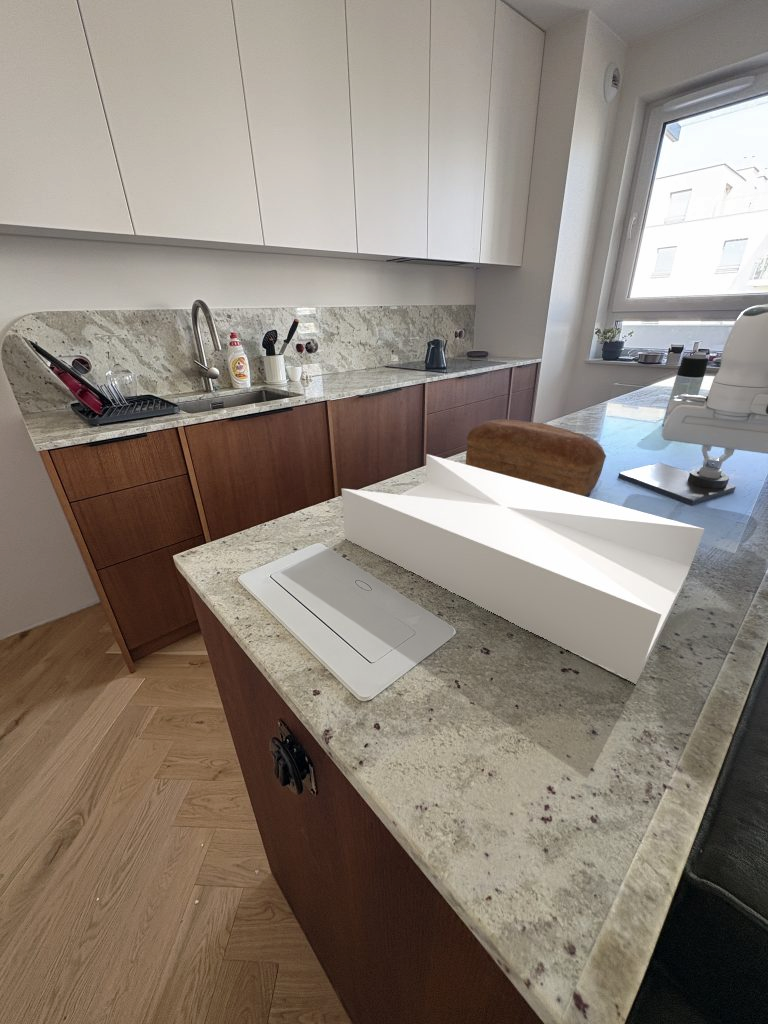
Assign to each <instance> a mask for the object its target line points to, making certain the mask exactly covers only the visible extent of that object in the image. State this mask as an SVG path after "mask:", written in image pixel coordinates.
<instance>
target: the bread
mask: <svg viewBox="0 0 768 1024" xmlns="http://www.w3.org/2000/svg"><path fill="white" fill-rule="evenodd" d="M466 443H467V445H466V450H465V451H466V453H465V464H466V465H469V466H473V467H477V468H481V469H484V470H488V471H492V472H495V473H499V474H503V475H507V476H510V477H514V478H518V479H522V480H525V481H529V482H533V483H536V484H540V485H544V486H548V487H551V488H555V489H559V490H562V491H566V492H570V493H574V494H577V495H581V496H585V497H586V495H588V494H590V493H591V492H592V491H593V490H594V489H595V488H596V485H597V484H598V481H599V479H600V477H601V475H602V471H603V468H604V464H605V460H606V459H607V455H606V452H605V450H604V448H603V446H601V444H600V443H599V442H598V441H597V440H595V439H593V438H591V437H590V436H588V435H585V434H583V433H581V432H579V433H578V432H575V431H572V430H569V429H567V428H562V427H558V426H554V425H551V424H548V423H543V422H532V421H525V420H516V419H507V418H501V419H494V420H486V421H484V422H481V423H479V424H477V425H475V426H474V427H473V428H472V429H470V431H469V432H468V434H467V436H466Z"/></svg>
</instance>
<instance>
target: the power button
mask: <svg viewBox="0 0 768 1024" xmlns="http://www.w3.org/2000/svg"><path fill="white" fill-rule="evenodd" d="M699 469H700V471H699V475H700V476H703V477H706V478H712V479H719V478H720V476H721V473H723V469H722V468H720V469H714V468H708V467H702V465H701V466H700V468H699Z"/></svg>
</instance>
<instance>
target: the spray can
mask: <svg viewBox="0 0 768 1024" xmlns="http://www.w3.org/2000/svg"><path fill="white" fill-rule="evenodd" d="M708 364H709V358H708V357H706V356H700V355H684V356H682V359H681V362H680V365H679V367H678V369H677V373H676V376H675V379H674V383H673V386H672V389H671V393H670V396H669V400H668V403H667V406H666V410H665V413H664V417H663V419H662V427H664V425H665V422H666V420H667V418H668V416H669V415H668V414H667V407H668V404H669V401H670V400H671V399H672V398H674V397H676V396H680V395H682V394H686V395H691V396H699V393H700V390H701V387H702V384H703V381H704V378H705V375H706V372H707V367H708ZM677 399H678V400H680V399H679V398H677ZM689 401H690V400H689Z"/></svg>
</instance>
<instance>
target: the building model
mask: <svg viewBox="0 0 768 1024" xmlns="http://www.w3.org/2000/svg"><path fill="white" fill-rule="evenodd" d="M341 501H342V503H341V504H342V512H343V513H342V516H343V530H344V540H345V539H347V540H349V541H351V542H352V543H351V542H350V543H351V544H353V543H355V544H357V545H359V546H361V547H363V548H365V549H367V550H369V551H371V552H373V553H376V554H377V555H380V556H381V557H384V558H386V559H388V560H390V561H392V562H394V563H396V564H398V565H400V566H402V567H404V568H406V569H408V570H410V571H413V572H415V573H417V574H418V575H420V576H423V577H425V578H426V579H428V580H431V581H433V582H435V583H437V584H438V585H440V586H442V587H444V588H446V589H448V590H450V591H452V592H453V593H455V594H458V595H459V596H461V597H464V598H466V599H467V600H469V601H471V602H473V603H475V604H477V605H478V606H477V605H476V606H477V607H479V606H480V607H479V608H481V607H482V608H481V609H483V608H484V609H483V610H485V609H486V610H485V611H487V610H488V611H487V612H489V611H490V612H489V613H491V612H492V613H491V614H493V613H494V614H496V615H498V616H501V617H503V618H504V619H506V620H508V621H509V622H508V621H507V622H508V623H510V622H511V623H510V624H512V623H514V624H515V625H514V624H513V625H514V626H516V625H517V626H516V627H518V626H519V627H518V628H520V627H521V628H520V629H522V628H523V630H524V629H525V630H524V631H526V630H528V631H529V633H530V632H532V633H534V634H536V635H539V636H540V637H543V638H544V639H547V640H548V641H551V642H553V643H555V644H557V645H559V646H561V647H563V648H566V649H568V650H570V651H573V652H575V653H577V654H579V655H581V656H584V657H586V658H588V659H590V660H592V661H594V662H596V663H598V664H600V665H603V666H605V667H607V668H609V669H612V670H614V671H615V672H617V673H619V674H620V675H622V676H624V677H626V678H628V679H629V680H631V681H633V682H635V683H637V684H638V682H639V680H640V678H639V677H641V676H640V675H642V674H641V673H643V672H644V670H645V667H646V665H647V663H648V661H649V659H650V657H649V656H651V655H652V653H651V652H653V650H654V648H655V647H656V645H657V642H658V640H659V638H660V635H661V634H662V632H663V629H664V628H665V625H666V624H667V621H668V619H669V618H670V616H671V613H672V611H673V609H674V606H675V605H676V602H677V601H678V598H679V597H680V594H681V592H682V590H683V588H684V585H685V582H686V580H687V577H688V574H689V572H690V569H691V566H692V563H693V561H694V559H695V555H696V553H697V550H698V548H699V545H700V543H701V540H702V537H703V535H704V532H705V530H706V529H705V528H703V527H700V526H696V525H692V524H688V523H685V522H682V521H677V520H674V519H669V518H666V517H663V516H659V515H655V514H653V513H652V514H651V513H647V512H644V511H640V510H636V509H633V508H629V507H625V506H622V505H618V504H614V503H610V502H606V501H602V500H600V499H595V498H592V497H588V496H586V495H585V496H581V495H577V494H574V493H570V492H566V491H562V490H559V489H555V488H551V487H548V486H544V485H540V484H536V483H533V482H529V481H525V480H522V479H518V478H514V477H510V476H507V475H503V474H499V473H495V472H492V471H488V470H484V469H481V468H477V467H473V466H469V465H466V463H462V462H458V461H454V460H450V459H446V458H443V457H439V456H436V455H432V454H428V453H426V457H425V481H424V482H423V483H420V484H418V485H416V486H414V487H412V488H410V489H408V490H406V491H404V492H401V493H400V494H397V493H386V492H380V491H379V492H378V491H371V490H370V491H368V490H361V489H351V488H341ZM347 540H346V541H347ZM349 541H348V542H349ZM355 544H354V545H355ZM357 545H356V546H357ZM359 546H358V547H359ZM361 547H360V548H361ZM363 548H362V549H363ZM365 549H364V550H365ZM367 550H366V551H367ZM369 551H368V552H369ZM371 552H370V553H371ZM373 553H372V554H373ZM377 555H376V556H377ZM381 557H380V558H381ZM453 593H452V594H453ZM455 594H454V595H455ZM459 596H458V597H459ZM461 597H460V598H461ZM467 600H466V601H467ZM469 601H468V602H469ZM471 602H470V603H471ZM473 603H472V604H473ZM475 604H474V605H475ZM494 614H493V615H494ZM496 615H495V616H496ZM498 616H497V617H498ZM504 619H503V620H504ZM506 620H505V621H506ZM528 631H527V632H528ZM532 633H531V634H532ZM534 634H533V635H534ZM536 635H535V636H536ZM540 637H539V638H540ZM544 639H543V640H544ZM548 641H547V642H548ZM650 654H651V655H650ZM638 679H639V680H638ZM637 681H638V682H637Z"/></svg>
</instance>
